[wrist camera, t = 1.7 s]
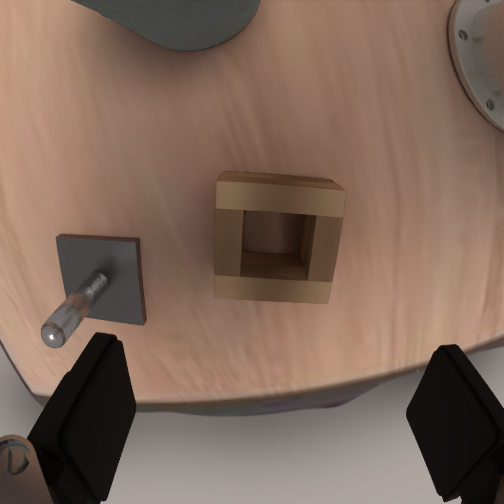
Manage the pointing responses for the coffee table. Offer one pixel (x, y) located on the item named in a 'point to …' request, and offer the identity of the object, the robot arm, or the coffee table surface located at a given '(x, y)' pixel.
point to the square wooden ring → (268, 264)
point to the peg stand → (96, 284)
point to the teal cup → (179, 19)
